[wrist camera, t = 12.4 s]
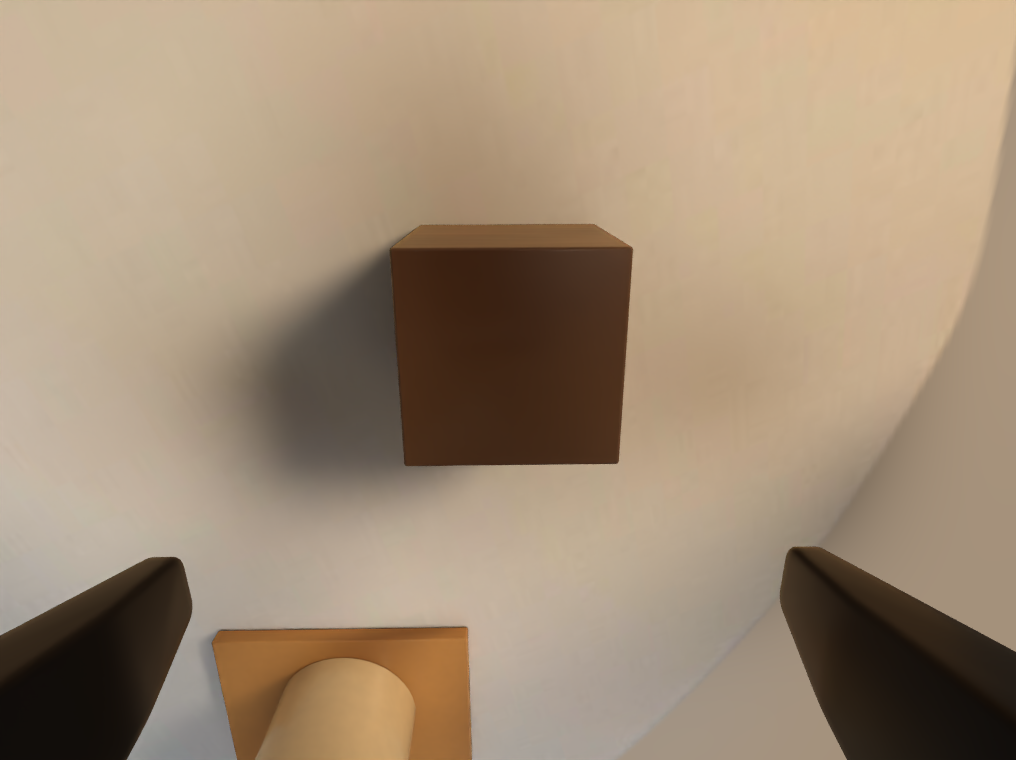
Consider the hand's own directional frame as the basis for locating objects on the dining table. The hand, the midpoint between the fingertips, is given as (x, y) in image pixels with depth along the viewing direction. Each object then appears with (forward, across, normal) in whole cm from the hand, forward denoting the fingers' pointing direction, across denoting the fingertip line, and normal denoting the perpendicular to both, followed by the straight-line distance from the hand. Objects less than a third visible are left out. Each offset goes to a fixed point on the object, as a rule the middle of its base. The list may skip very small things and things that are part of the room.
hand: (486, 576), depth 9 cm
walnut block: (+10, 0, -2) cm, 10 cm away
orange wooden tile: (+10, +6, +13) cm, 18 cm away
